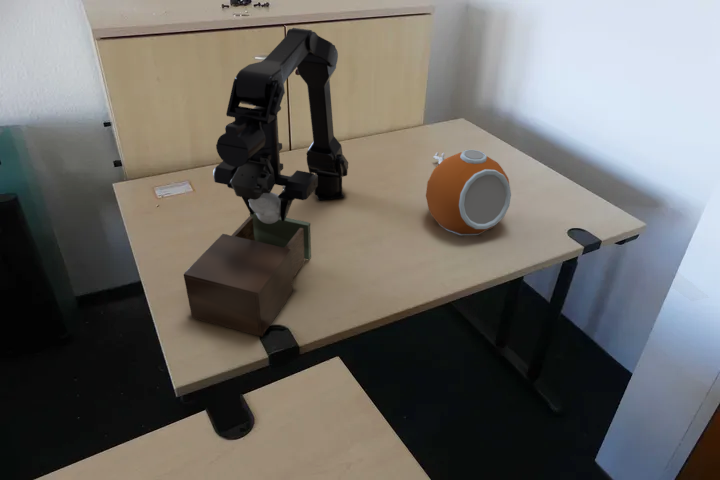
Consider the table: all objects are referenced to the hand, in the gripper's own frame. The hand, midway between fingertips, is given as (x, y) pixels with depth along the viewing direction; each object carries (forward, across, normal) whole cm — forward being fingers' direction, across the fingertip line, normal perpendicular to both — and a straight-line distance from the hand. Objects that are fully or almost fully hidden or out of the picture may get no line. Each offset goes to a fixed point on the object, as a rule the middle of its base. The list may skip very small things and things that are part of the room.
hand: (268, 216), depth 105 cm
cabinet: (+12, 0, -12) cm, 17 cm away
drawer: (+12, 0, +1) cm, 12 cm away
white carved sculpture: (+1, 0, 0) cm, 1 cm away
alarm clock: (+13, +34, +32) cm, 49 cm away
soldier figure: (+13, +26, +55) cm, 62 cm away
